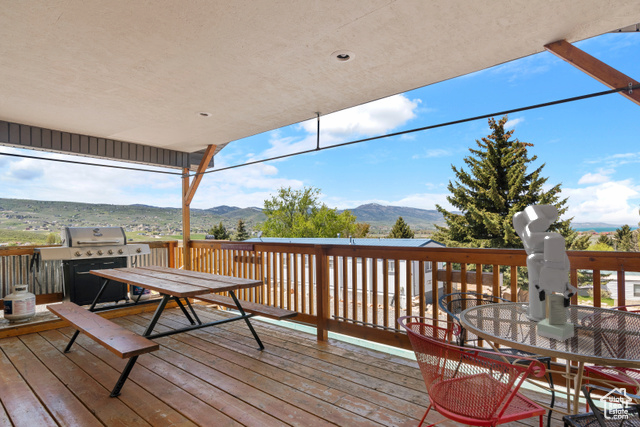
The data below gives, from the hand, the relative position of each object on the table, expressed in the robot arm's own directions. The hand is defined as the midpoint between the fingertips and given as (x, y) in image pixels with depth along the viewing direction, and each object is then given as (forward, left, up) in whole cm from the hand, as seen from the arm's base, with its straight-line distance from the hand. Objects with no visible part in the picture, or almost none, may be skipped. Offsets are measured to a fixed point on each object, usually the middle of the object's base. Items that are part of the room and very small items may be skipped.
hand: (554, 303), depth 153 cm
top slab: (+1, 0, -11) cm, 11 cm away
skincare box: (0, 0, -9) cm, 9 cm away
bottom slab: (+1, 0, -14) cm, 14 cm away
